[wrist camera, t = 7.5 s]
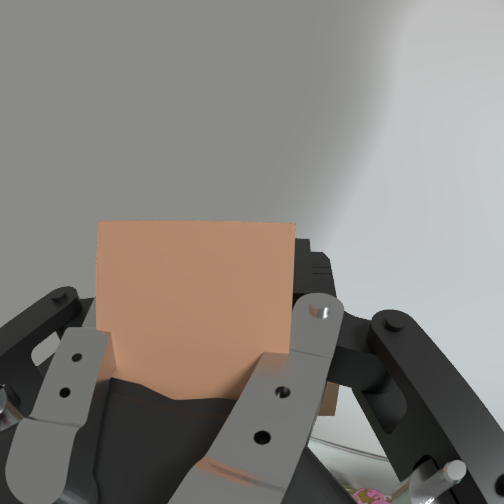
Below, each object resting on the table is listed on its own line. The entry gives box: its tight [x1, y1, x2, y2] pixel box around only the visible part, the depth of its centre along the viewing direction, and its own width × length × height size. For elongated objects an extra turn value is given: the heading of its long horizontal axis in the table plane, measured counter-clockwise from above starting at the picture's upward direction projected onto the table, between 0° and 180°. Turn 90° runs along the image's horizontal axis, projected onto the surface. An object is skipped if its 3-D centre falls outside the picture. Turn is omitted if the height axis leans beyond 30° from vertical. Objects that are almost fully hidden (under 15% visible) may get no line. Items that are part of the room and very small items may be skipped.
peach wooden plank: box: [96, 221, 295, 400], centre depth 17 cm, size 24×4×4 cm, turn 173°
